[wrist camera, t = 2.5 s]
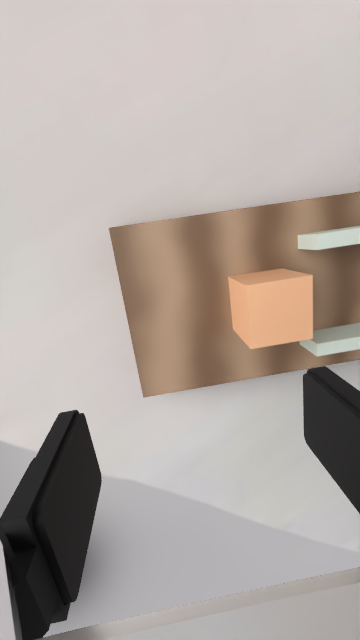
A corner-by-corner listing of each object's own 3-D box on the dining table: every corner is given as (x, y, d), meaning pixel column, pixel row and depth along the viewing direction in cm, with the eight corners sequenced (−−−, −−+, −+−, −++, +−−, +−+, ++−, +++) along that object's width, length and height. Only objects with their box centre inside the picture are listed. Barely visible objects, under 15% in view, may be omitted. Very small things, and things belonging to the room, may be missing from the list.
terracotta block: (282, 268, 25) (312, 275, 20) (284, 320, 27) (312, 338, 22) (228, 276, 25) (246, 285, 20) (232, 329, 26) (250, 349, 22)
